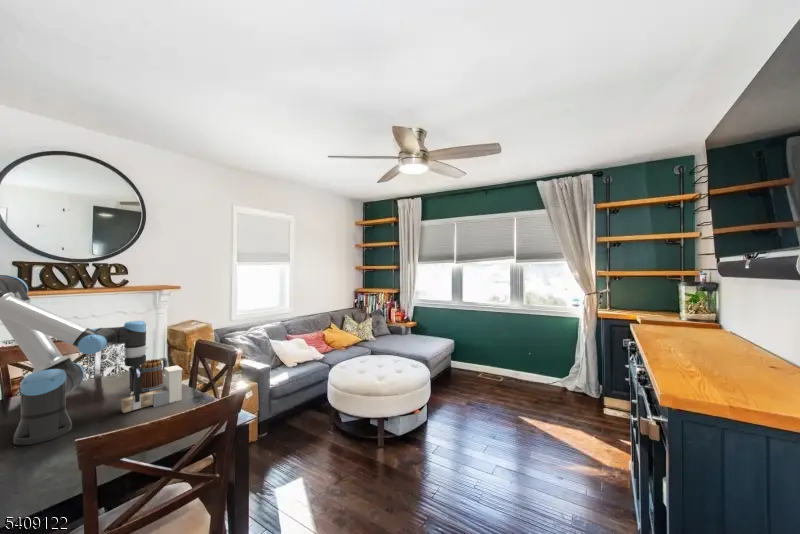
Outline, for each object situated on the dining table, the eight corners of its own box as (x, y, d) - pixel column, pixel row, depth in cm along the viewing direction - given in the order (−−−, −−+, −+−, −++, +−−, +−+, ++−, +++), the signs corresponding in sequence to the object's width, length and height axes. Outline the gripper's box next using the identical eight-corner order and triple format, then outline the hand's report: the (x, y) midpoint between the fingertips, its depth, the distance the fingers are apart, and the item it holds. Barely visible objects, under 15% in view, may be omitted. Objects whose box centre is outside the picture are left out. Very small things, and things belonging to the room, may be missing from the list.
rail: (123, 413, 143) (122, 401, 143) (121, 410, 146) (120, 398, 146) (166, 400, 155) (166, 389, 155) (164, 398, 158) (164, 387, 158)
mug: (153, 394, 164) (153, 364, 164) (132, 394, 164) (132, 364, 164) (175, 383, 180) (175, 356, 180) (156, 382, 180) (156, 355, 180)
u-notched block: (153, 407, 150) (154, 374, 149) (149, 402, 155) (149, 370, 155) (182, 399, 158) (182, 368, 158) (177, 395, 164) (177, 365, 164)
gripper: (150, 357, 145) (150, 410, 145) (141, 350, 156) (141, 399, 156) (128, 361, 139) (128, 415, 139) (121, 353, 151) (121, 404, 151)
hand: (135, 407), depth 148 cm, fingers closed on rail, 4 cm apart
